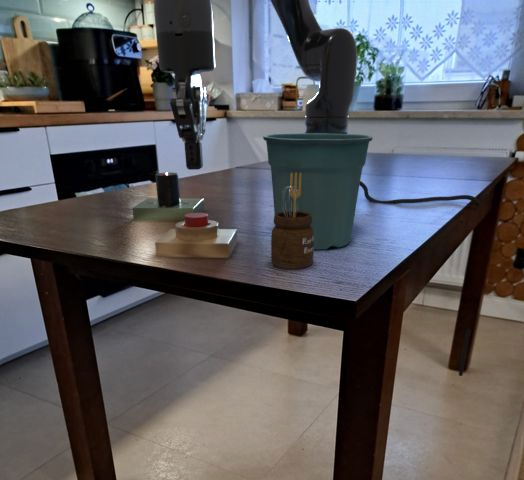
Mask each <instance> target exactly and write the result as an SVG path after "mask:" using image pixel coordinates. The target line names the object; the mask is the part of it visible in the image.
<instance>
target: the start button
mask: <svg viewBox="0 0 524 480" xmlns="http://www.w3.org/2000/svg"><path fill="white" fill-rule="evenodd" d="M184 218H185V226H186V227H204V226H208V225H209V222H208V220H209V214H208V213H206V212H203V213H189V214H186V215H184Z"/></svg>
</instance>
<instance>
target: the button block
mask: <svg viewBox="0 0 524 480" xmlns="http://www.w3.org/2000/svg"><path fill="white" fill-rule="evenodd" d="M208 222H209V225H208V226H204V227H186V226H185V221H177V223H175V225H174V228H169V229H168V231H166V232H165V233H164V234H163V235H162V236H161V237H160V238H158V240H156V241H155V243H154V246H155V256H156V258H210V259H211V258H217V259H218V258H220V259H221V258H222V259H229V258H230V256H231V255H232V253H233V251H234V249H235V248H236V245H237V243H238V229H236V228H220V226H219V225H220V223H219V222H218V221H216V220H211V219H208Z"/></svg>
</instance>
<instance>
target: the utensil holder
mask: <svg viewBox="0 0 524 480" xmlns="http://www.w3.org/2000/svg"><path fill="white" fill-rule="evenodd" d="M301 176H302V174H301V173H299V189H298V190H297V173H295V183H294V187H293V186H292V180H293V173H291V174H290V186H287V187H288V188H289V187H290V189H289V193H290V196H291V197H293V198H294V206H293V211H290V210H289V211H283V212H279V213H276V214H273V215H274V216H273V224H274V226H273V228H272V230H271V235H270V256H271V258H270V259H271V263H272V265H273V266H274V267H275V268H278V269H281V270H288V271H292V270H294V271H295V270H304V269H307V268H309V267H310V266H311V265H312V264H313V261H314V250H315V249H314V233H313V229H312V227H311V226H310V225H311V223H312V217H311V214H310V213H307V212H302V211H296V208H297V206H296V199H297V198H298V197H299V196H300V195H301ZM287 187H286V188H287ZM292 187H293V188H294V190H292V189H293V188H292ZM284 189H285V188H284ZM285 191H286V189H285ZM282 192H283V191H282ZM284 193H285V192H284ZM283 202H284V195H283ZM281 203H282V196H281ZM291 205H292V198H291ZM285 207H286V205H285ZM282 209H284V204H283V208H282ZM298 209H299V207H298ZM275 225H276V226H275Z"/></svg>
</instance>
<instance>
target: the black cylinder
mask: <svg viewBox="0 0 524 480" xmlns="http://www.w3.org/2000/svg"><path fill="white" fill-rule="evenodd" d="M154 176H155V177H154V178H155V185H156V186H155V188H156V196H157V198H158V204H162V205H172V204H178V203H180V199H181V194H180V182H179V173H178V172H167V171H166V172H158V173H155V175H154Z"/></svg>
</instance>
